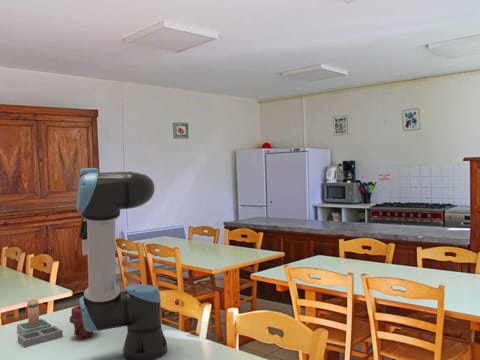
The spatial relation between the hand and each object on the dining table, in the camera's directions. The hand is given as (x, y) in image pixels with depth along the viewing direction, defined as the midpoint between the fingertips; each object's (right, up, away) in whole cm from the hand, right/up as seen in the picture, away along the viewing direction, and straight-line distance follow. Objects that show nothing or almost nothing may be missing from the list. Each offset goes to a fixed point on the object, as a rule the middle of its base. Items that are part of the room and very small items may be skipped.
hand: (92, 256), depth 187 cm
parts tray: (-22, -30, -5) cm, 37 cm away
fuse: (-22, -29, -5) cm, 37 cm away
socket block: (-16, -30, -13) cm, 36 cm away
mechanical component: (0, -29, -12) cm, 32 cm away
